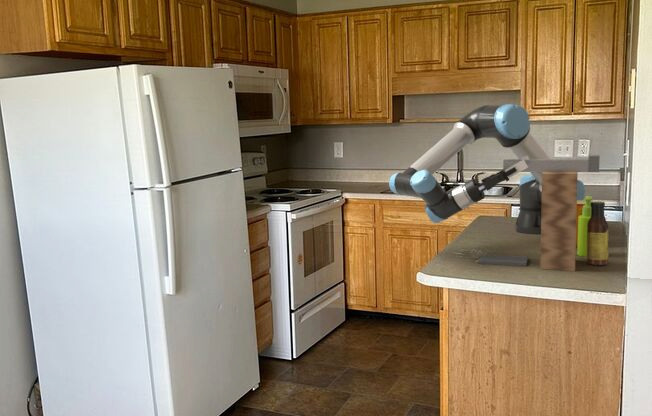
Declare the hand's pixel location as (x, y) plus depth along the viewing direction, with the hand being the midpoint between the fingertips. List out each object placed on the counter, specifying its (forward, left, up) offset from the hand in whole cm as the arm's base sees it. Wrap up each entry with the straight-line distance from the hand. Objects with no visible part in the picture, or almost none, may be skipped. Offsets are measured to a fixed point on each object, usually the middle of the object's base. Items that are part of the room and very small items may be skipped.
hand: (527, 161), depth 192 cm
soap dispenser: (-22, +8, -33) cm, 41 cm away
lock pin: (-3, +6, -3) cm, 7 cm away
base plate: (+4, -6, -33) cm, 34 cm away
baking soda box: (-35, -1, -33) cm, 48 cm away
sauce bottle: (-14, +16, -33) cm, 40 cm away
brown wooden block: (-5, +8, -33) cm, 35 cm away
